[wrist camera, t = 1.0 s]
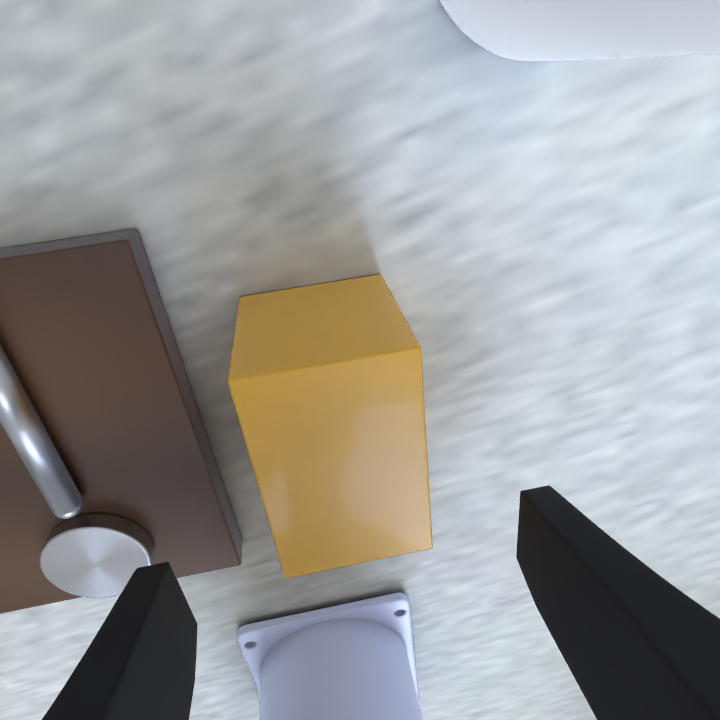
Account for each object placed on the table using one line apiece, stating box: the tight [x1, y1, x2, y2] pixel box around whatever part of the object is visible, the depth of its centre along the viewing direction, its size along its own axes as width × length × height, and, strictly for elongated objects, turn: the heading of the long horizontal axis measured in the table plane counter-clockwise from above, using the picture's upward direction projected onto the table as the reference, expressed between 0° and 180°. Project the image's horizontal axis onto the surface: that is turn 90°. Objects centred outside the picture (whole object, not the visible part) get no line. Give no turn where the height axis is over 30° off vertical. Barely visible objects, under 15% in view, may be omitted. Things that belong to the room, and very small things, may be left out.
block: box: [227, 274, 433, 578], centre depth 15 cm, size 7×4×5 cm, turn 7°
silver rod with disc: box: [0, 345, 154, 598], centre depth 16 cm, size 12×4×1 cm, turn 7°
